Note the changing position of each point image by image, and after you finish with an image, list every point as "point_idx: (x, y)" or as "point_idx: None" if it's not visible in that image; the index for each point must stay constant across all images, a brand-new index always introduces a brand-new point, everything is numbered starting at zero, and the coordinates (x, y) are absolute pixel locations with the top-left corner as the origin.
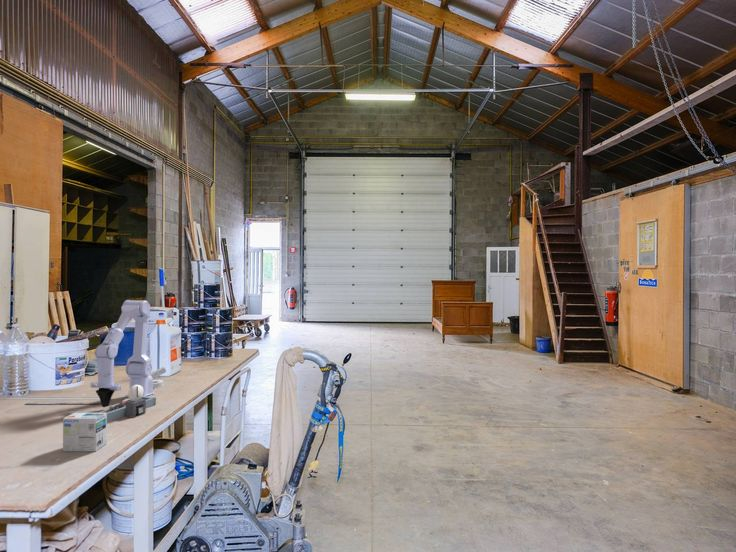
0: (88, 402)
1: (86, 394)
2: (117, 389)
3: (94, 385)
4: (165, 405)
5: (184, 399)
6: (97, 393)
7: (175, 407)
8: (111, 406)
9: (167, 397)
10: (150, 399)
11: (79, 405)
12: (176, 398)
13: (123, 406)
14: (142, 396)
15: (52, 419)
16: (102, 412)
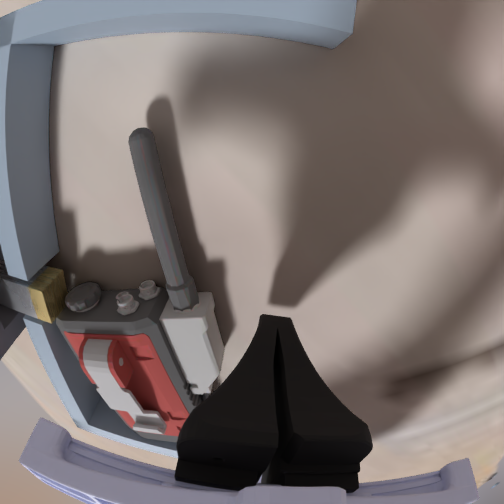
0: (462, 380)
1: (491, 423)
2: (33, 433)
3: (420, 499)
4: (53, 390)
5: (77, 436)
6: (342, 414)
7: (9, 366)
8: (187, 320)
9: (147, 458)
10: (67, 409)
11: (490, 334)
12: (108, 447)
13: (41, 290)
14: (152, 448)
15: (495, 25)
16: (142, 175)
